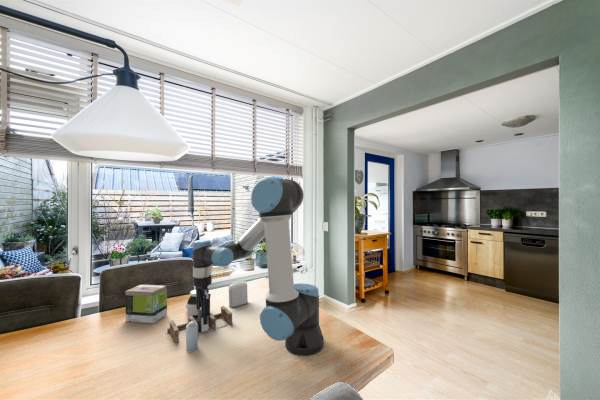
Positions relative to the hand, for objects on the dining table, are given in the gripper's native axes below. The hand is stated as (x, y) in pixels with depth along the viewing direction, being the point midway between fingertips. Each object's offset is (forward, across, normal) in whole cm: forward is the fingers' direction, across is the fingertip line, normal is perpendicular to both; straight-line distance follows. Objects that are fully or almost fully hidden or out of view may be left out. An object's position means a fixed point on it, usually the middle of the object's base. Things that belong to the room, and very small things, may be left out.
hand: (203, 328), depth 109 cm
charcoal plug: (+1, 0, 0) cm, 1 cm away
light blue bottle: (+1, -11, +8) cm, 13 cm away
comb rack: (+1, +3, 0) cm, 3 cm away
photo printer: (+1, +15, -23) cm, 27 cm away
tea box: (+1, +29, +18) cm, 34 cm away
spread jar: (+1, +19, -2) cm, 19 cm away
